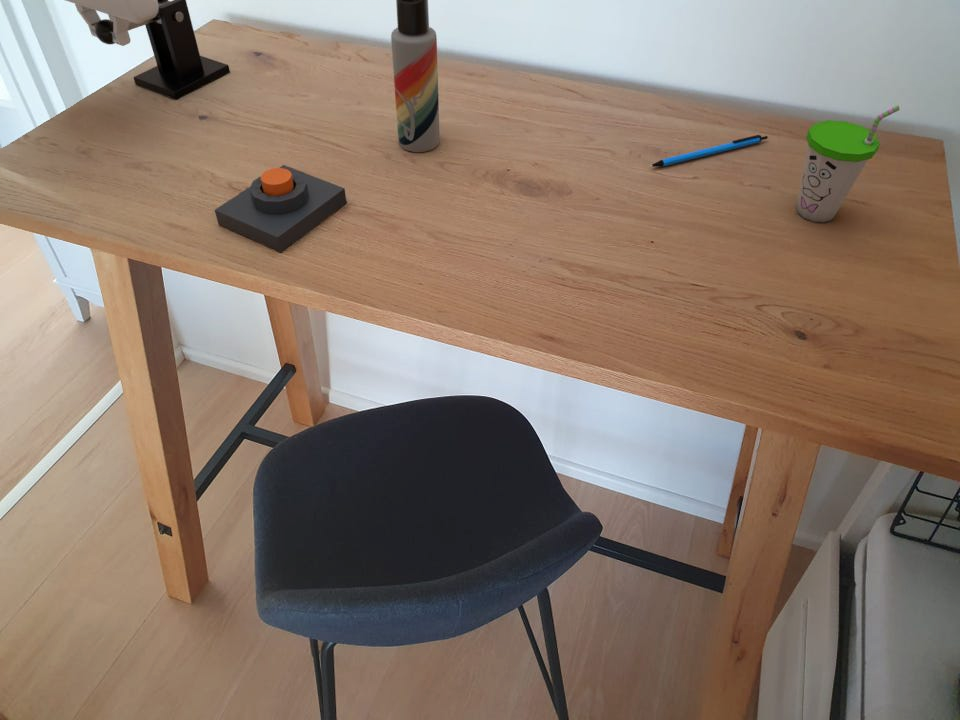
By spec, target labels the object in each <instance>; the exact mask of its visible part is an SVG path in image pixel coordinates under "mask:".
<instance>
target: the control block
mask: <svg viewBox="0 0 960 720" xmlns="http://www.w3.org/2000/svg"><path fill="white" fill-rule="evenodd" d="M279 168H284V169H287V170H289V171H290V172H291V174H292V179H293V184H294V189H293V191H291V192H290V193H288V194H284V195H280V196H269V195H267V194H265V193H264V191H263V187H262V183H261V175H260V176H258V177H257V178H255V179H254V180H253V181H252V182H251V184H250V186H249V187H247V188H245V189H244V190H243V191H241V192H240V193H238V194H237V195H235V196H234V197H232V198H230V199H229V200H228V201H225V202H224V203H223V204H221V205H220V206H218V207H217V208H215V209H214V213H215V217H216V221H217V223H218V226H220V227H222V228H225V229H227V230H229V231H231V232H233V233H235V234H238V235H240V236H242V237H245V238H247V239H249V240H252V241H254V242H256V243H258V244H261V245H263V246H265V247H267V248H270V249H272V250H275V251H276V252H279V253H282V252H284V251H285V250H286V249H287V248H289V247H291V245H293V244H295V243H296V242H297V241H298V240H300V239H301V238H302V237H303V236H305V235H306V234H307V233H309V232H310V231H312V230H313V229H314V228H316V227H317V226H319V225H320V224H321V223H322V222H324V221H326V219H328V218H330V217H331V216H332V215H333V214H334V213H335V212H337V211H338V210H340V209H341V208H343V207H344V206H345V205H346V204H347V203H348V202H347V194H346V189H345V187H342V186H339V185H337V184H334V183H332V182H330V181H327V180H324V179H322V178H319V177H317V176H313V175H311V174H309V173H306V172H303V171H300V170H298V169H295V168H294V167H290V166H288V165H285V164H283V165H281V166H280V167H279Z"/></svg>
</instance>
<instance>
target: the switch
mask: <svg viewBox="0 0 960 720" xmlns="http://www.w3.org/2000/svg"><path fill="white" fill-rule="evenodd" d="M170 1H171V0H164V1H161V2H158V6H161V5H163V4H166V3H168V2H170ZM152 22H157V23H160V24H162V22H161V18H160V15H159V11H158V13H157V16H156V17H154V18H152V19H150V20H148V21H145V22H143V23H140V24H136V23H133V22H130V21H129V26H128V32H129V31H131V30H134V29H137V28H140V27H143V26H145V25H146V24H149V23H152ZM112 30H113V22H112V21H110V19H106V18H105V19H101V21H99V22H98V23H97V24H96V26H95V33H96V36H97V37H96V38H97V39H98V40H99V41H100V42H102V43H103V44H105V45H115V44H116V43H114V42H113V38H112V37H111V34H110V31H112Z"/></svg>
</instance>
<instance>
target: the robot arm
mask: <svg viewBox="0 0 960 720" xmlns="http://www.w3.org/2000/svg"><path fill="white" fill-rule="evenodd" d="M64 1H66V2H68V3H72V4H74V5H75V8H76V10H77V12H78V14H79V15H80V17H82V19H83V20H84V21H85V23H86V24H87V26H88V28H89V32H90V34H91V36H93V37H95V38H98V37H97V36H96V33H95V26H96V24H97V23H98V22H99V21H101V20H102V18H101V17H100V16H99V14H98V12H99V13H102V14H106V15H107V17H108V18H109V19H108V20H110V21H112V22H113V30H112V31H110V34H111V37H112V38H113V42H114V43H115V44H116V45H119V46H122V47H124V46H126V45H129V44H130V43H131V37H130V33H129V31H128V26H129V21H130V22H133V23H136V24H140V23H143V22H145V21H148V20H150V19H152V18H154V17H156V16H157V13H158V9H159V6H158V1H157V0H64Z"/></svg>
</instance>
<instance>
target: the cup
mask: <svg viewBox="0 0 960 720" xmlns="http://www.w3.org/2000/svg"><path fill="white" fill-rule="evenodd" d="M898 111H900V107H899V105H896V106H893V107H892V108H890V109H888V110H886V111H884V112H882V113H880V114H878V115H877V116H876V117H875V119H874V120H873V123H872V125H871V127H870V129H867V128H866V127H864V126H862V125H859V124H855V123H853V122H849V121H843V120H824V121H819V122H815V123H813V125H812V126H810V128H809V129H808V131H807V134H806V137H805V138H806V141H807V149H806V155H805V159H804V165H803V170H802V176H801V181H800V187H799V191H798V197H797V202H796V208H795V209H796V213H797V215H799V216H800V217H801V218H803V219H804V220H807V221H809V222H812V223H820V224H825V223H828V222H832V220H833V219H834V218H835V216H836V215H837V213H838V211H839V210H840V208H841V206H842V204H843V203H844V202H845V200H846V198H847V196H848V195H849V193H850V191H851V190H852V188H853V187H854V184H855V183H856V181H857V180H858V178H859V175H860V174H861V173H862V171H863V170H864V168H865V166H866V164H867V162H868V161H869V160H871V159H873V157H874V156H875V155H876V154H877V152H878V150H879V148H880V146H881V142H880V140H879V138H878V136H877V135H876V131H877V130H878V126H879V125H880V122H881V121H882V120H883V119H884V118H886V117H889V116H890V115H893V114H895V113H897V112H898Z"/></svg>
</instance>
